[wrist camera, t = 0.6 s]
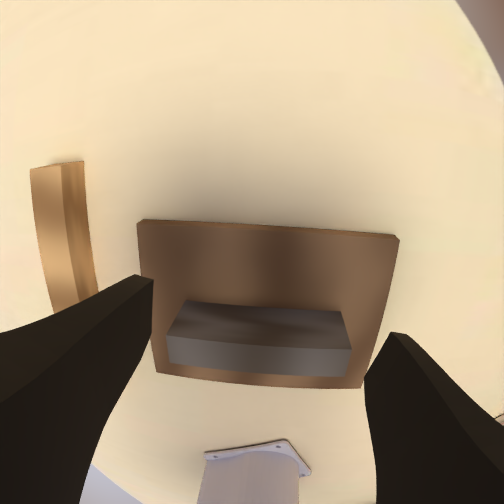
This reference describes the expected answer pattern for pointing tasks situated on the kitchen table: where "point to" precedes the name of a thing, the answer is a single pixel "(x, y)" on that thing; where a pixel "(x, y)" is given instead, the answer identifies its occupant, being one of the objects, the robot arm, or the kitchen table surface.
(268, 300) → the ridge stand
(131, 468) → the kitchen table surface
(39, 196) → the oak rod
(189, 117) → the kitchen table surface
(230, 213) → the kitchen table surface
